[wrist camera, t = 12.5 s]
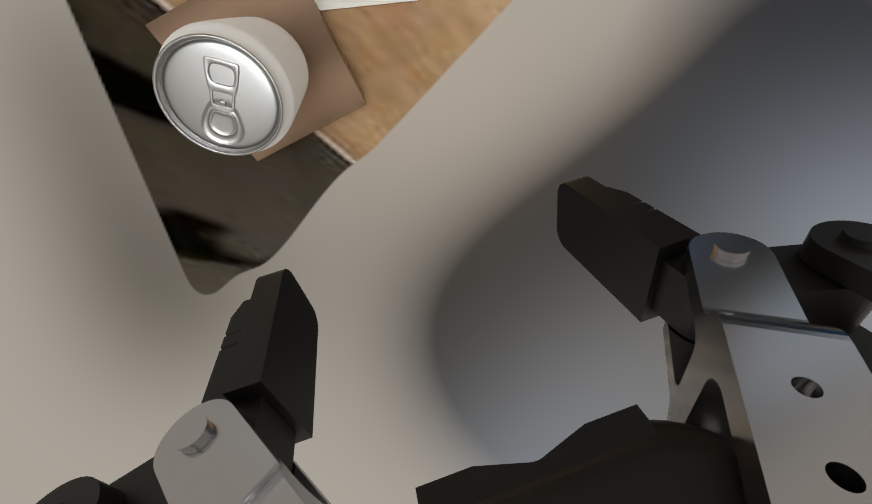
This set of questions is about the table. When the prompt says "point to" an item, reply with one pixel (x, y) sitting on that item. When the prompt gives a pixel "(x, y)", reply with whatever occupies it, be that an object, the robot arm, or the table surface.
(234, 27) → the can
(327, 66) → the base block
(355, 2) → the page
